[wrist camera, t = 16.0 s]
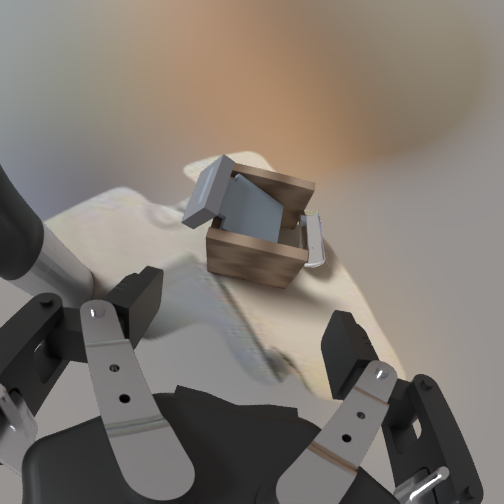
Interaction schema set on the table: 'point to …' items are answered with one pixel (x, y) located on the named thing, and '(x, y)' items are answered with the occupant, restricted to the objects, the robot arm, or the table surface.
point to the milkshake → (311, 238)
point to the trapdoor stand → (258, 250)
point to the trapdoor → (233, 203)
